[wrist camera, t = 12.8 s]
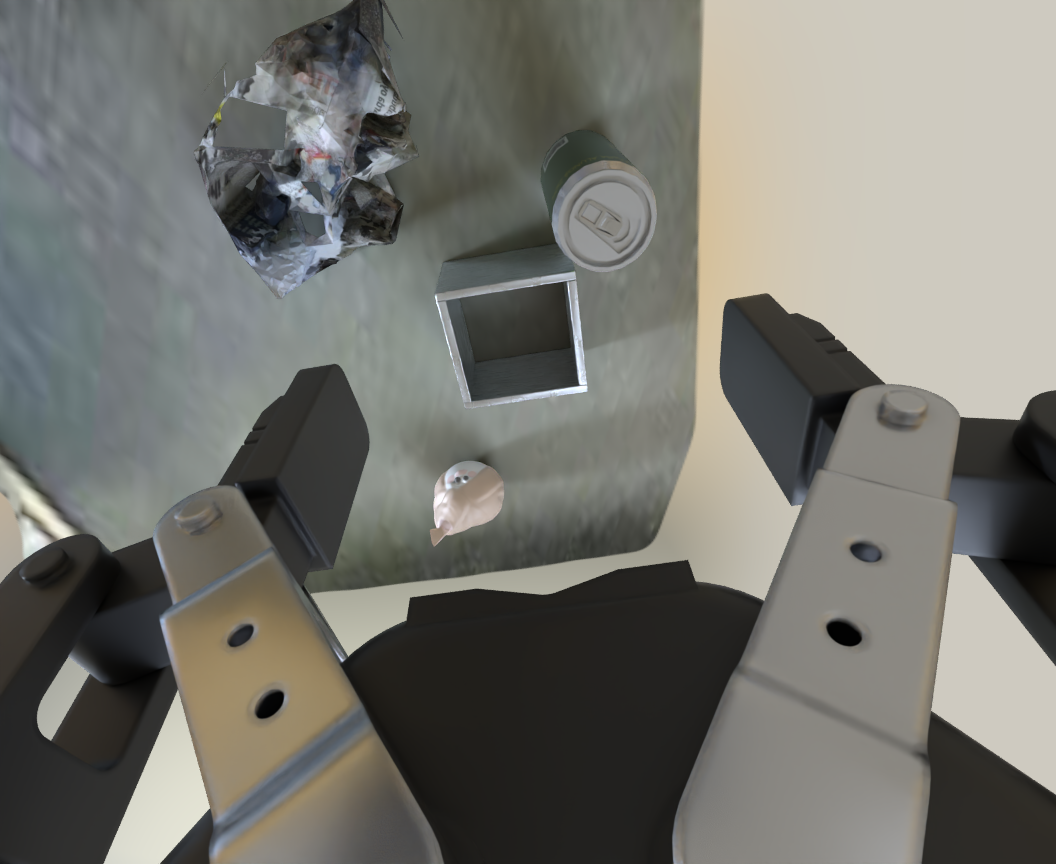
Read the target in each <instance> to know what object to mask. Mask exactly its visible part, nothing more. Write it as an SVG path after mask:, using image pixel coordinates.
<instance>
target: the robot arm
mask: <svg viewBox="0 0 1056 864" xmlns="http://www.w3.org/2000/svg"><path fill="white" fill-rule="evenodd" d="M720 379H721V385H722V389H723V392H724V394H725V397H726V398H727V400H728V402H729V403H730V405H731V407H732V408H733V410H734V412H735V413H736V415H737V417H738V418H739V420H740V422H741V423H742V425H743V427H744V428H745V430H746V432H747V433H748V435H749V437H750V438H751V440H752V442H753V443H754V445H755V446H756V448H757V450H758V451H759V453H760V455H761V456H762V458H763V459H764V461H765V463H766V465H767V466H768V468H769V470H770V471H771V473H772V475H773V476H774V478H775V480H776V481H777V483H778V485H779V486H780V488H781V490H782V491H783V493H784V495H785V496H786V498H787V499H788V501H789V503H790V505H791V506H794V505H802V504H803V505H802V508H801V510H800V513H799V515H798V518H797V520H796V523H795V525H794V528H793V530H792V533H791V535H790V538H789V541H788V543H787V546H786V548H785V550H784V553H783V555H782V558H781V560H780V563H779V566H778V568H777V570H776V573H775V576H774V578H773V581H772V583H771V586H770V588H769V591H768V593H767V596H766V598H765V601H763V600H761V599H759V598H757V597H754V596H752V595H749V594H747V593H745V592H742V591H739V590H735V589H732V588H729V587H725V586H721V585H716V584H711V583H704V582H695V579H694V576H693V573H692V570H691V567H690V564H689V562H688V560H685V561H677V562H670V563H662V564H655V565H648V566H640V567H633V568H625V569H618V570H615V571H613V572H610V573H608V574H604V575H602V576H599V577H596V578H594V579H591V580H589V581H586V582H583V583H580V584H578V585H575V586H572V587H569V588H567V589H564V590H562V591H559V592H556V593H553V594H548V595H538V594H527V593H517V592H507V591H496V590H485V589H471V590H463V591H456V592H450V593H442V594H434V595H426V596H419V597H412V598H410V602H409V608H408V614H407V621H404V622H402V623H400V624H397V625H395V626H393V627H391V628H389V629H387V630H385V631H383V632H382V633H380V634H378V635H377V636H375V637H374V638H372V639H370V640H369V641H367V642H366V643H365V644H363V645H362V646H361V647H360V648H358V649H357V650H356V651H354V652H353V653H352V654H351V655H350V656H349V657H348V655H347V654H346V652H345V651H344V649H343V647H342V646H341V644H340V642H339V641H338V639H337V637H336V636H335V634H334V632H333V631H332V629H331V628H330V626H329V624H328V623H327V621H326V619H325V617H324V616H323V614H322V613H321V611H320V609H319V608H318V606H317V604H316V603H315V601H314V599H313V598H312V596H311V594H310V593H309V591H308V590H307V588H306V587H305V585H304V581H305V578H306V576H307V573H308V572H313V571H320V570H327V569H333V566H334V563H335V559H336V556H337V553H338V550H339V546H340V543H341V540H342V536H343V533H344V530H345V527H346V523H347V520H348V517H349V514H350V510H351V507H352V504H353V500H354V497H355V494H356V491H357V487H358V484H359V481H360V478H361V474H362V471H363V468H364V465H365V461H366V458H367V455H368V451H369V433H368V428H367V425H366V422H365V420H364V417H363V415H362V413H361V410H360V408H359V406H358V403H357V401H356V399H355V397H354V394H353V392H352V390H351V387H350V385H349V383H348V380H347V378H346V376H345V374H344V372H343V370H342V369H341V367H340V366H339V365H337V364H332V365H326V366H320V367H314V368H308V369H302V370H300V371H299V372H298V373H297V375H296V376H295V378H294V380H293V381H292V383H291V385H290V387H289V388H288V390H287V392H286V394H285V395H284V396H280V397H279V398H278V399H277V400H276V401H274V402H273V403H272V404H271V405H270V406H269V407H268V408H266V409H265V410H264V411H263V412H262V413H261V415H260V417H259V418H258V420H257V422H256V423H255V425H254V426H253V428H252V429H253V431H252V432H250V433H249V435H248V436H247V438H246V440H245V441H244V444H245V445H242V446H241V448H240V449H239V451H238V453H237V454H236V456H235V458H234V459H233V461H232V463H231V464H230V466H229V467H228V469H227V471H226V472H225V474H224V476H223V477H222V479H221V481H220V482H219V484H218V485H217V486H215V487H210V488H207V489H204V490H201V491H198V492H196V493H194V494H192V495H190V496H188V497H186V498H185V499H183V500H181V501H180V502H179V503H177V504H176V505H174V506H173V507H172V508H171V509H170V510H168V511H167V512H166V513H165V514H164V515H163V517H162V518H161V519H160V520H159V522H158V523H157V525H156V527H155V529H154V532H153V537H152V538H149V539H147V540H144V541H141V542H139V543H136V544H133V545H131V546H128V547H125V548H122V549H120V550H117V551H114V552H112V553H111V552H110V551H109V550H108V549H107V548H106V547H105V546H104V545H103V544H102V543H101V542H100V540H99V539H98V538H97V537H95V536H93V535H89V534H80V535H74V536H70V537H66V538H63V539H60V540H58V541H56V542H53V543H51V544H49V545H47V546H45V547H43V548H42V549H40V550H38V551H37V552H35V553H33V554H32V555H30V556H29V557H28V558H26V559H25V560H24V561H22V562H21V563H20V564H19V565H18V566H16V567H15V568H14V569H13V570H12V571H11V572H10V573H9V574H8V575H7V576H6V577H5V579H4V580H3V581H2V582H1V584H0V864H103V863H104V861H105V859H106V856H107V854H108V852H109V849H110V847H111V845H112V842H113V840H114V837H115V835H116V833H117V831H118V828H119V826H120V824H121V821H122V819H123V817H124V814H125V812H126V809H127V807H128V805H129V802H130V800H131V798H132V795H133V793H134V790H135V788H136V786H137V784H138V781H139V779H140V777H141V774H142V772H143V770H144V767H145V765H146V763H147V760H148V758H149V756H150V753H151V751H152V749H153V746H154V744H155V742H156V739H157V737H158V735H159V732H160V730H161V728H162V725H163V723H164V720H165V718H166V716H167V714H168V711H169V709H170V706H171V704H172V702H173V700H174V697H175V695H176V692H177V690H179V694H180V698H181V702H182V705H183V709H184V713H185V716H186V720H187V724H188V727H189V731H190V735H191V738H192V742H193V746H194V750H195V753H196V757H197V761H198V764H199V768H200V771H201V775H202V779H203V782H204V786H205V790H206V794H207V797H208V801H209V805H210V809H209V810H208V811H207V812H206V813H205V814H204V816H203V817H202V818H201V819H200V820H199V821H198V822H197V823H196V824H195V825H194V827H193V828H192V829H191V830H190V831H189V832H188V833H187V834H186V836H185V837H184V838H183V839H182V840H181V841H180V842H179V843H178V844H177V845H176V847H175V848H174V849H173V850H172V851H171V852H170V853H169V854H168V855H167V857H166V858H165V859H164V860H163V861H162V862H161V863H160V864H1056V795H1055V794H1054V793H1052V792H1051V791H1049V790H1048V789H1046V788H1045V787H1043V786H1042V785H1041V784H1039V783H1038V782H1036V781H1035V780H1033V779H1032V778H1030V777H1029V776H1027V775H1026V774H1024V773H1023V772H1021V771H1020V770H1018V769H1017V768H1015V767H1014V766H1012V765H1011V764H1009V763H1008V762H1006V761H1005V760H1003V759H1002V758H1000V757H999V756H997V755H996V754H994V753H993V752H992V751H990V750H988V749H987V748H986V747H984V746H983V745H981V744H980V743H978V742H977V741H975V740H974V739H972V738H971V737H969V736H968V735H966V734H965V733H963V732H962V731H960V730H959V729H957V728H956V727H954V726H953V725H951V724H950V723H948V722H947V721H945V720H944V719H942V718H941V717H939V716H938V715H937V714H935V713H934V712H932V711H931V708H932V700H933V692H934V685H935V678H936V670H937V662H938V655H939V648H940V640H941V633H942V625H943V617H944V610H945V603H946V595H947V588H948V580H949V573H950V565H951V558H952V553H954V554H962V555H968V556H969V557H970V558H971V560H972V561H973V562H974V563H975V564H976V566H977V567H978V568H979V570H980V571H981V572H982V573H983V575H984V576H985V577H986V578H987V580H988V581H989V582H990V584H991V585H992V586H993V587H994V589H995V590H996V591H997V592H998V594H999V595H1000V596H1001V597H1002V599H1003V600H1004V601H1005V602H1006V604H1007V605H1008V606H1009V608H1010V609H1011V610H1012V611H1013V613H1014V614H1015V615H1016V616H1017V617H1018V619H1019V620H1020V621H1021V623H1022V624H1023V625H1024V626H1025V628H1026V629H1027V630H1028V631H1029V633H1030V634H1031V635H1032V637H1033V638H1034V639H1035V640H1036V642H1037V643H1038V644H1039V646H1040V647H1041V648H1042V649H1043V651H1044V652H1045V653H1046V654H1047V656H1048V657H1049V658H1050V659H1051V661H1052V662H1053V663H1054V664H1055V666H1056V390H1055V391H1048V392H1044V393H1041V394H1039V395H1037V396H1035V397H1033V398H1032V399H1031V400H1030V401H1029V403H1028V405H1027V407H1026V409H1025V411H1024V413H1023V415H1022V417H1021V419H1020V420H1006V419H985V418H964V417H960V415H959V413H958V411H957V410H956V408H955V407H954V406H953V405H952V404H951V403H950V402H948V401H947V400H946V399H944V398H943V397H940V396H939V395H937V394H934V393H932V392H929V391H927V390H924V389H920V388H916V387H912V386H905V385H895V384H885V383H884V382H883V381H882V380H881V379H879V378H878V377H877V376H876V375H875V374H874V373H873V372H872V371H871V370H870V369H869V368H868V367H867V366H866V365H865V364H863V362H861V361H860V360H859V359H858V358H857V357H856V356H855V355H854V354H853V353H852V352H851V351H847V348H846V347H845V346H844V345H843V344H842V343H841V342H840V341H839V340H835V336H834V335H833V334H832V333H830V332H829V331H828V330H827V329H826V328H825V327H824V326H823V325H822V324H821V323H819V322H817V321H814V320H812V319H809V318H807V317H805V316H803V315H800V314H798V313H795V314H788V313H787V312H786V311H785V310H784V309H783V308H782V307H781V306H780V305H779V304H778V303H777V302H776V301H775V300H774V299H773V298H772V297H771V296H770V295H769V294H760V295H753V296H748V297H742V298H735V299H730V300H728V301H727V302H726V304H725V307H724V312H723V327H722V341H721V356H720ZM68 657H70V658H71V659H72V660H73V661H75V662H76V663H77V664H79V665H80V666H81V667H82V668H84V669H85V670H86V671H87V672H89V673H90V674H89V676H88V678H87V680H86V681H85V683H84V685H83V686H82V688H81V690H80V692H79V693H78V695H77V697H76V699H75V700H74V702H73V704H72V706H71V707H70V709H69V711H68V712H67V714H66V716H65V718H64V720H63V721H62V723H61V725H60V726H59V728H58V730H57V732H56V734H55V735H54V737H53V739H52V740H51V741H50V740H48V739H47V738H45V737H44V736H43V735H42V734H41V732H40V731H39V728H38V724H37V711H38V707H39V704H40V702H41V700H42V698H43V696H44V694H45V693H46V691H47V689H48V688H49V686H50V685H51V683H52V681H53V680H54V678H55V677H56V675H57V674H58V672H59V670H60V669H61V667H62V666H63V664H64V662H65V661H66V659H67V658H68Z"/></svg>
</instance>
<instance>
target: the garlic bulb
mask: <svg viewBox="0 0 1056 864" xmlns="http://www.w3.org/2000/svg"><path fill="white" fill-rule="evenodd" d="M434 493H435V499H434V503H433V507H434V512H435V514H434V520H435V524H436V529H430V533H431V539H432V544H434V546H435V545H436V544H437V543H439V542H440V541H441V539H442V538H443V537H444V536H445V535H453V534H455V533H458V532H461V531H464V530H467V529H468V528H470V527H472V526H477V525H481V524H484V523H486V522H488V521H490V520H492V519H493V518H494V517H495V516H496V515H497V514H498V513H499V512H500V510H501V508H502V503H503V498H504V487H503V480H502V478H501V477H500V475H499V474H498V473H497V472H496V471H495V470H494V469H493V468H492V467H490V466H487V465H485V464H483V463H481V462H477V461H463V462H460V463H457V464H455V465H454V466H452V467H451V468H450V469H449V470H447V471H446V472H444V473H443V474H442V475H441V476H440V478H439V479H438V481H437V483H436V486H435V489H434Z"/></svg>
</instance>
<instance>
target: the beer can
mask: <svg viewBox="0 0 1056 864" xmlns="http://www.w3.org/2000/svg"><path fill="white" fill-rule="evenodd" d="M541 184H542V188H543V192H544V196H545V200H546V204H547V208H548V212H549V216H550V220H551V224H552V228H553V232H554V236H555V240H556V242H557V244H558V245H559V247H560V248H561V250H562V252H563V253H564V255H566V256H567V257H568V258H569V259H571V260H572V261H573V262H574V263H576V264H578V265H579V266H580V267H583V268H586V269H589V270H591V271H595V272H610V271H613V270H617V269H620V268H623V267H625V266H627V265H628V264H630V263H631V262H633V261H635V260H636V259H637V258H638V257H639V256H640V255H641V254H642V252H643V251H644V250H645V249H646V248H647V246H648V244H649V242H650V240H651V238H652V236H653V234H654V230H655V225H656V219H657V215H656V213H657V208H656V201H655V194H654V192H653V190H652V188H651V186H650V184H649V182H648V180H647V178H646V177H645V176H644V175H643V174H642V173H641V172H640V171H639V170H638V169H637V168H636V167H635V166H634V165H633V164H632V163H631V162H630V161H629V160H628V159H627V158H626V157H625V156H624V155H623V154H622V153H621V152H620V151H619V150H618V149H617V148H616V147H615V146H614V145H613V144H612V143H611V142H610V141H609V140H607V139H606V138H605V137H604V136H603V135H600V134H598V133H596V132H593V131H585V130H578V131H575V132H572V133H568V134H566V135H564V136H563V137H561V138H560V139H559V140H557V141H556V142H555V143H554V144H553V145H552V147H551V148H550V150H549V151H548V152H547V154H546V156H545V159H544V162H543V165H542V168H541Z"/></svg>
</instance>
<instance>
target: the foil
mask: <svg viewBox="0 0 1056 864" xmlns="http://www.w3.org/2000/svg"><path fill="white" fill-rule="evenodd" d="M382 4H383V6H384V8H385V10H386V11H387V13H388V15H389V16H390V18H391V20H392V21H393V23H394V25H395V27H396V28H397V30H398V27H397V25H396V23H395V21H394V19H393V17H392V15H391V13H390V11H389V9H388V7H387V5H386V3H385V1H384V0H353V1H352V2H351V3H349V4H348V5H347V6H346V7H344V8H343V9H342V10H340V11H338V12H336V13H335V14H332V15H329V16H327V17H324V18H322V19H319V20H317V21H314V22H312V23H309V24H307V25H305V26H303V27H300V28H298V29H296V30H294V31H292V32H290V33H288V34H286V35H284V36H281V37H279V38H277V39H276V40H275V41H274V42H273V43H272V44H271V45H270V47H269V48H268V49H267V50H266V51H265V52H264V54H263V55H262V56H261V57H260V58H259V60H258V61H257V62H256V63H255V65H256V75H254V76H252V77H249V78H247V79H243V80H239V81H237V82H236V85H235V88H234V89H233V90H232V91H231V92H230V93H229V94H227V95H226V81H225V71H224V99H223V101H222V103H221V105H220V106H219V108H218V110H217V112H216V113H215V115H214V117H213V119H212V121H211V122H210V124H209V126H208V128H207V130H206V132H205V134H204V136H203V139H202V141H201V144H200V146H199V147H198V148H197V149H196V150H195V151H194V155H195V158H196V161H197V163H198V164H199V167H200V170H201V174H202V177H203V180H204V184H205V187H206V190H207V184H206V175H205V170H206V174H207V177H208V180H209V189H208V193H207V194H208V197H209V200H210V203H211V205H212V207H213V209H214V211H215V212H216V214H217V216H218V218H219V220H220V221H221V223H222V225H223V226H224V227H225V228H226V229H227V231H228V233H229V234H230V236H231V238H232V240H233V242H234V244H235V246H236V248H237V250H238V251H239V253H240V255H241V256H242V257H243V258H244V259H245V260H246V261H247V263H248V264H249V265H250V266H251V267H252V268H253V269H254V270H255V271H256V272H257V274H258V275H259V276H260V277H261V279H262V280H263V281H264V282H265V283H266V285H267V286H268V287H269V288H270V290H271V291H272V292H273V293H274V295H275V296H276V297H277V299H281V298H282V297H284V296H285V295H286V294H287V293H288V292H289V291H291V290H292V289H295V288H296V287H298V286H300V285H301V284H302V283H303V282H304V281H306V280H307V279H309V278H310V277H312V276H313V275H315V274H316V273H318V272H320V271H321V270H323V269H325V268H327V267H329V266H330V265H332V264H336V263H337V262H338V261H339V260H341V259H343V258H345V257H347V256H349V255H351V253H352V252H353V251H354V250H355V249H356V248H358V247H362V246H371V245H387V244H391V243H392V244H393V243H394V242H395V241H396V238H397V233H398V229H399V224H400V219H401V215H402V210H403V206H404V205H403V203H402V202H400V201H399V200H398V199H397V198H396V196H395V194H394V192H393V190H392V188H391V186H390V184H389V182H388V180H387V178H386V176H385V174H384V173H385V172H387V171H389V170H391V169H393V168H396V167H398V166H400V165H402V164H404V163H406V162H408V161H410V160H413V159H415V158H417V157H419V154H418V153H417V152H418V150H417V151H416V148H417V146H416V148H415V146H414V144H413V141H412V139H411V137H410V134H409V132H408V129H409V123H410V118H411V114H410V113H408V112H407V111H406V102H405V104H404V102H403V100H402V98H401V95H400V92H399V89H398V85H397V82H396V79H395V76H394V73H393V70H392V67H391V64H390V59H389V58H390V56H389V55H388V53H387V51H386V48H385V45H384V43H385V44H386V46H387V47H388V48H389V49H390V50H391V48H390V47H389V45H388V44H387V43H386V42H385V41H384V25H383V9H382ZM398 32H399V30H398ZM399 33H400V32H399ZM400 35H401V34H400ZM401 37H402V36H401ZM402 39H403V38H402ZM226 63H227V62H226ZM226 63H225V64H226ZM225 64H224V66H225ZM224 66H223V67H224ZM223 67H222V68H221V70H222V69H223ZM221 70H220V71H221ZM220 71H219V72H220ZM219 72H218V73H219ZM217 75H218V74H217ZM217 75H216V76H217ZM216 76H215V77H216ZM215 77H214V78H215ZM213 80H214V79H213ZM213 80H212V81H213ZM389 80H391V82H392V84H393V85H392V84H391V82H390V81H389ZM212 81H211V82H212ZM209 85H210V84H209ZM209 85H208V86H209ZM393 86H394V87H393ZM205 90H206V89H205ZM205 90H204V91H205ZM201 95H202V94H201ZM229 96H230V97H234V98H238V99H242V100H246V101H250V102H254V103H258V104H262V105H266V106H270V107H274V108H278V109H282V110H286V111H287V117H286V130H285V142H284V150H274V149H254V148H234V147H214V146H212V145H213V142H214V139H215V135H216V132H217V129H218V126H219V124H220V122H221V113H220V109H221V108H222V106H223V105H224V103H225V102H226V100H227V99H228V97H229ZM403 107H404V109H403ZM259 172H260V175H259V177H258V179H257V180H256V186H255V188H254V189H253V191H251V190H250V189H248V188H246V187H245V186H246V185H247V184H248V183H249V182H250V181H251V180H252V179H253V178H254V177H255V176H256V175H257V174H258V173H259ZM300 181H305V182H318V185H319V187H320V190H321V193H322V205H321V204H320V203H319V202H318V200H317V199H316V198H315V197H314V196H313V195H312V194H311V193H310V192H309V190H308V189H307V188H306V187H305V186H304V185H303V184H302V183H301V182H300ZM401 205H403V206H402V207H401ZM400 207H401V208H400ZM398 210H399V211H398ZM299 212H306V213H313V214H320V215H323V217H324V226H325V231H326V233H325V234H324V235H322V236H320V237H316V236H314V235H311V234H309V233H308V232H306V231H305V228H304V225H303V223H302V220H301V217H300V214H299ZM390 232H391V234H390Z"/></svg>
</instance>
